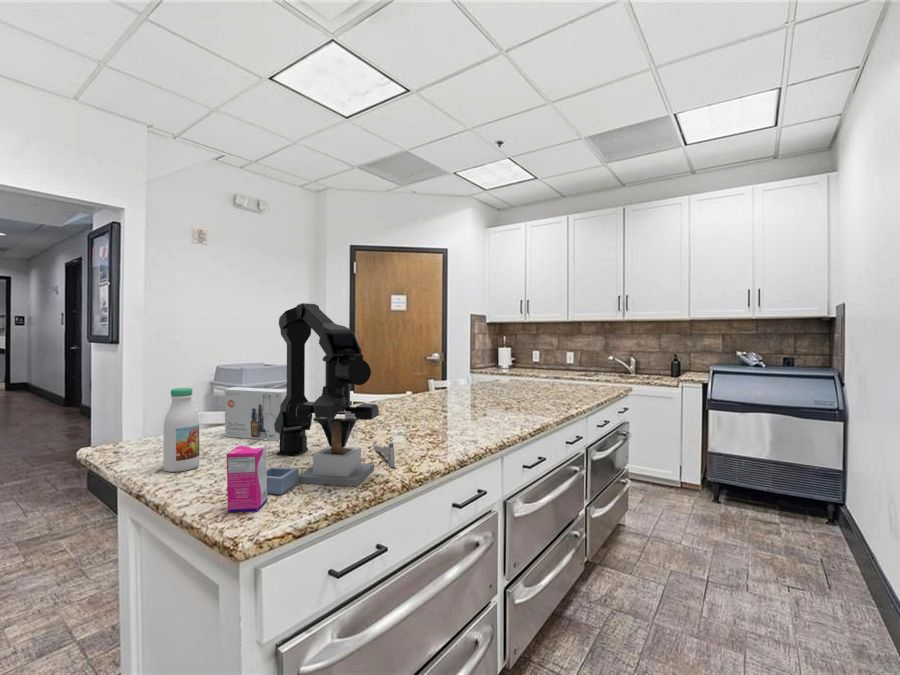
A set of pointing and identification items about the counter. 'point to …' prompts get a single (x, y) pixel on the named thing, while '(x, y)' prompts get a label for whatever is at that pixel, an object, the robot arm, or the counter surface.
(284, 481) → the blue square tray
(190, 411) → the milk bottle
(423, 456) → the counter surface
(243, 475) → the supplement box
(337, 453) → the brown wooden cylinder
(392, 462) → the caliper
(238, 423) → the skincare box
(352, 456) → the grey square holder
